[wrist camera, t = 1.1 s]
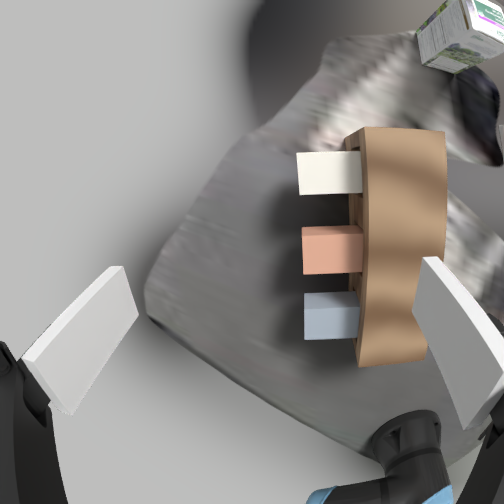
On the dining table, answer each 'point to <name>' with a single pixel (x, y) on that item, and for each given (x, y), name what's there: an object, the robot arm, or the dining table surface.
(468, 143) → the dining table surface
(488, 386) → the robot arm
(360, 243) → the salmon pink block
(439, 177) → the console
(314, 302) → the slate button
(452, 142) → the dining table surface
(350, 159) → the cream button
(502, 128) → the milk
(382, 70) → the dining table surface
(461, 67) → the syrup box
